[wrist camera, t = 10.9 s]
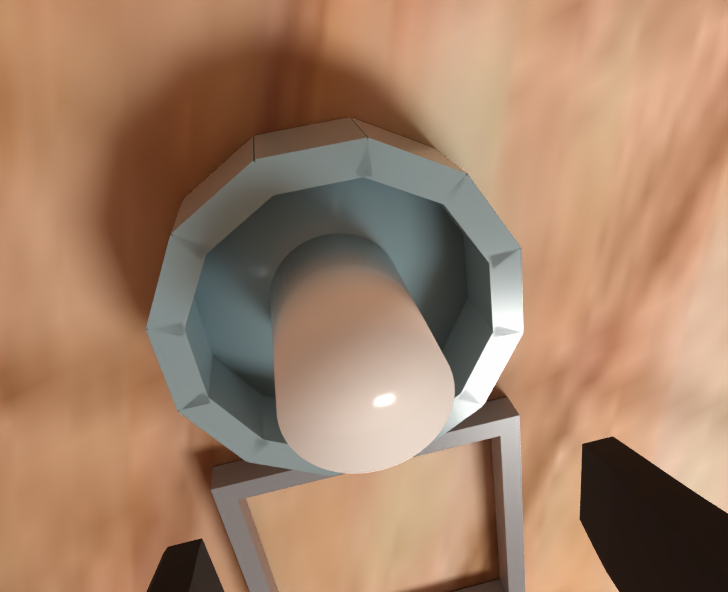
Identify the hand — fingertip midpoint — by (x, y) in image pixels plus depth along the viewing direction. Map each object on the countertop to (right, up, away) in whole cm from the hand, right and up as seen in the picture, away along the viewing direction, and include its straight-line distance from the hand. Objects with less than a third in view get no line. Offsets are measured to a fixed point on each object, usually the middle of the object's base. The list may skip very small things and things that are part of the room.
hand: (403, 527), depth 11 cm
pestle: (-2, +4, +9) cm, 10 cm away
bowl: (-2, +5, +9) cm, 10 cm away
